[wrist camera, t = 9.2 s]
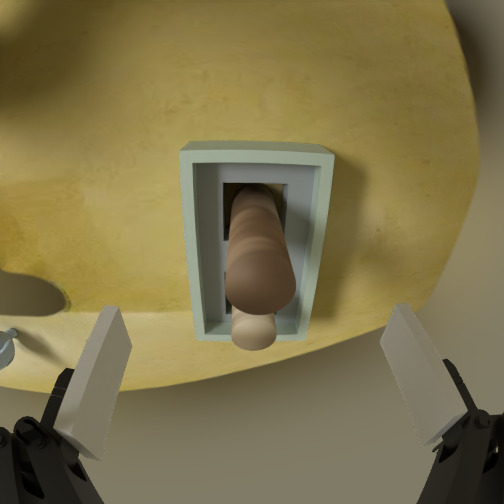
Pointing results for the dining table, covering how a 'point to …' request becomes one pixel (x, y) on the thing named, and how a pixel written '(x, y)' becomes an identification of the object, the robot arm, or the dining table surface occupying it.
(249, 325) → the beech dowel
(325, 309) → the dining table surface
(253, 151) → the crate
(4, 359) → the toy figure
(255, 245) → the walnut dowel
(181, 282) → the dining table surface
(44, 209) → the dining table surface
